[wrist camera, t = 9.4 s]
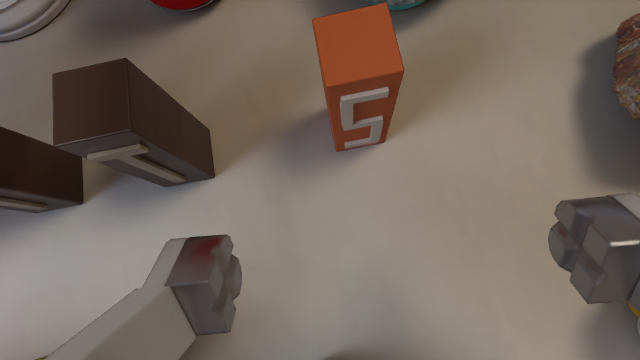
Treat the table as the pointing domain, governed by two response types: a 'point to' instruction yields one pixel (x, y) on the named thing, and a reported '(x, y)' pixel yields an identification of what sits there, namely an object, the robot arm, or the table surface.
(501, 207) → the table surface
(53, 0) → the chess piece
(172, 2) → the beverage can
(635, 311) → the roller toy
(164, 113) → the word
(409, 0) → the ballet flat
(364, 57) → the letter S
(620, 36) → the mineral specimen
